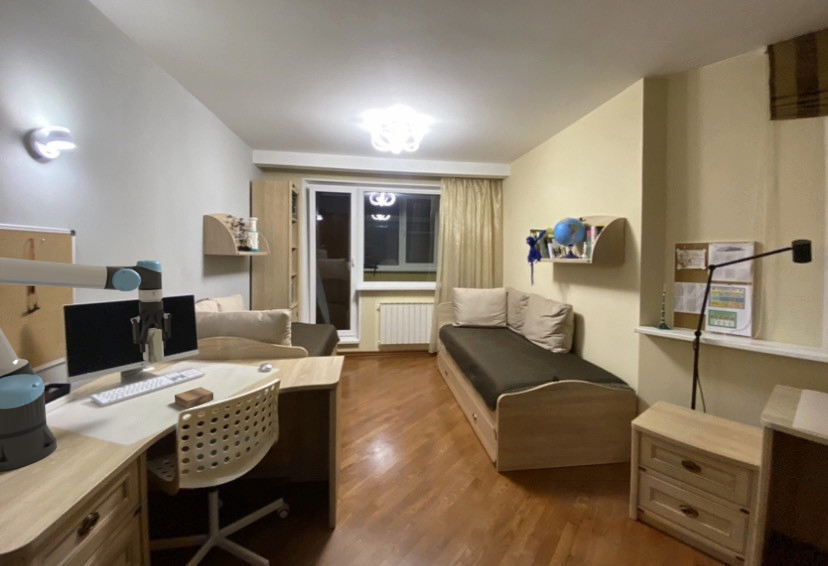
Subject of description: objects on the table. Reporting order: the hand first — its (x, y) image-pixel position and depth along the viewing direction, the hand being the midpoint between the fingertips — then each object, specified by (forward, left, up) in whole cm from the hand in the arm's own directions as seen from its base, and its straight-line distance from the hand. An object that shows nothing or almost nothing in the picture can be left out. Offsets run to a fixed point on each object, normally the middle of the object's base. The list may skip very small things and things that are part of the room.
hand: (153, 358), depth 139 cm
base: (+10, -10, -19) cm, 23 cm away
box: (0, 0, -1) cm, 1 cm away
